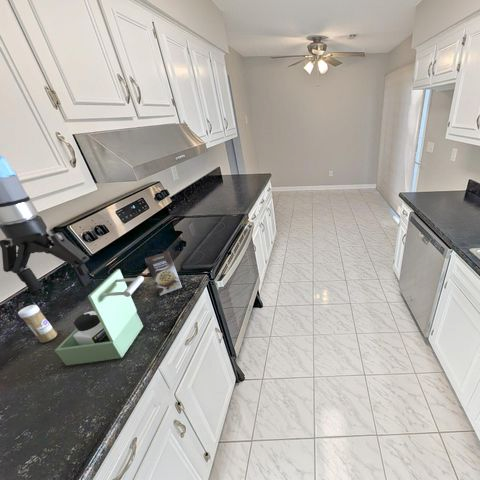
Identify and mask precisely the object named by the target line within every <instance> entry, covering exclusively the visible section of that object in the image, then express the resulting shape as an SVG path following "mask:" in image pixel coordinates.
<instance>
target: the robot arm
mask: <svg viewBox="0 0 480 480" xmlns="http://www.w3.org/2000/svg"><path fill="white" fill-rule="evenodd" d="M38 214H39V212H38V209H37V208H36V206H35V204H34V203H33V201H32V199H31V197H30V196H29V195H28V194H27V192H26V189H25V188H24V186H23V184H22V182H21V180H20V178H19V177H18V175H17V172H16V171H15V170H14V169H13V167H12V165H11V164H10V163H9V161H8V160H7V158H5V156H2V155H0V230H1V232H2V234H3V235H4V236H5V238H3V239H0V248H1V257H2V269H3V271H4V272H6V273H9V272H11V273H13V274H16V276H17V277H18V279H19V280H20V281H21V282H22V283H24V284H25V286H26V287H27V288H28V290H29V291H30V293H31V294H32V293H36V292H37V291H39V290H40V289H41V288H43V285H42V284H41V282H40V280H39V279H38V278H37V277H36V274H35V273H34V272H33V271H32V269H31V268H30V267H29V266H28V262H29V259H30V257H31V254H35V253H39V254H41V253H45V254H47V255H49V254H50V255H51V256H54V257H55V258H57V259H59V260H61V261H63V262H65V263H67V264H68V265H70V266H72V267H71V268H70V269H71V271H72V272H73V274H74V275H75V277H76V279H77V280H78V282H79V283H80V286H81V287H82V288H86V287H87V286H88V285H89V284H90V283H91V282H92V280H91V277H90V276H89V274H88V273H89V270H88V268H87V267H86V263H87V262H89V260H90V257H89V255H87V254H85V252H84V251H82V250H81V249H80V248H78V247H77V246H76V245H75V244H74V243H72V242H71V241H70V240H69V239H67V238H66V236H65V235H64V233H63V232H61V231H58V232H56V233H53V234H49V233H48V231H47V229H48V226H47V225H46V223H45V221H44V219H43V218H42V216H41V215H38Z"/></svg>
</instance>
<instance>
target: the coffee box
mask: <svg viewBox="0 0 480 480" xmlns="http://www.w3.org/2000/svg"><path fill="white" fill-rule="evenodd" d="M144 260H145V264H146V266H147V268H148V269H147V270H148V271H149V274H150V276H151V278H152V281H153V283H154V285H155V287H156V290H157V293H158V295H159V296H163V295H166V294H168V293H171V292H174V291H176V290H179V289H183V285H182V283H181V280H180V278H179V275H178V272H177V270H176V266H175V264H174V262H173V261H174V260H173V258H172V256H171V253H170V251H165V252H162V253H158V254H154V255H152V256H148V257H145V258H144Z"/></svg>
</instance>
